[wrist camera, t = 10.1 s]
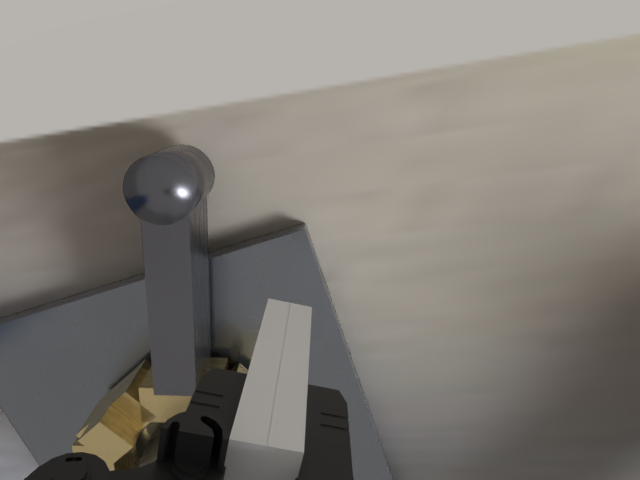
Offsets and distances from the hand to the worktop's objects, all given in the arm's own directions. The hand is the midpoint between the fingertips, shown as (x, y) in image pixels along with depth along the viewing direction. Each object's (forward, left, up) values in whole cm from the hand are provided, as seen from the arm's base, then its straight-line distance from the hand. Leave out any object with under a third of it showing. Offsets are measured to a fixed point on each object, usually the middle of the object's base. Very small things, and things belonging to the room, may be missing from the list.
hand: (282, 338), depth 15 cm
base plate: (+9, +9, -9) cm, 16 cm away
